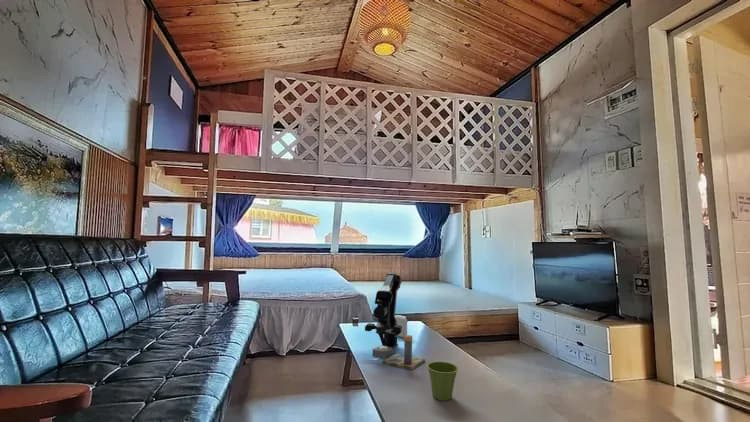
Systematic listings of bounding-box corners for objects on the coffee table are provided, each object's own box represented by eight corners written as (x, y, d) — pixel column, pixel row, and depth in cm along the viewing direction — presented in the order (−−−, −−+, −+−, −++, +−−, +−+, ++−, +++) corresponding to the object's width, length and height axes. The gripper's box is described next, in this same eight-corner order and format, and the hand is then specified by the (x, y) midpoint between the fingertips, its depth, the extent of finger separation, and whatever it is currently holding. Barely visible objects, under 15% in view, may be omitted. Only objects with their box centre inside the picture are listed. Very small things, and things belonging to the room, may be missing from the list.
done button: (377, 353, 186) (377, 347, 187) (381, 351, 190) (382, 345, 190) (384, 355, 184) (384, 349, 184) (389, 353, 188) (389, 347, 188)
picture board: (382, 363, 175) (382, 360, 175) (396, 355, 186) (396, 352, 186) (412, 370, 166) (412, 367, 166) (425, 361, 178) (425, 358, 178)
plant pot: (438, 406, 131) (438, 374, 132) (421, 393, 142) (421, 363, 143) (464, 400, 136) (464, 369, 137) (446, 388, 147) (446, 359, 148)
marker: (402, 362, 172) (402, 335, 173) (408, 361, 174) (409, 334, 175) (407, 365, 169) (407, 337, 169) (413, 363, 171) (414, 336, 171)
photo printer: (391, 334, 225) (391, 314, 226) (396, 333, 228) (396, 313, 229) (403, 338, 217) (403, 317, 218) (408, 337, 220) (408, 316, 221)
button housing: (372, 355, 186) (372, 349, 186) (380, 351, 193) (380, 345, 193) (386, 358, 182) (386, 352, 182) (393, 354, 188) (394, 348, 188)
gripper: (362, 316, 183) (361, 348, 181) (399, 319, 178) (398, 351, 177) (367, 312, 193) (367, 342, 192) (402, 314, 189) (402, 345, 188)
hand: (383, 345), depth 187 cm, fingers closed
